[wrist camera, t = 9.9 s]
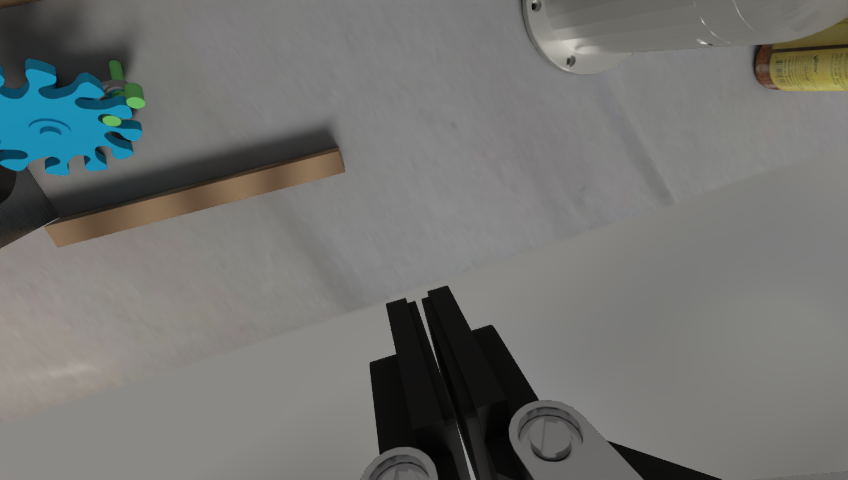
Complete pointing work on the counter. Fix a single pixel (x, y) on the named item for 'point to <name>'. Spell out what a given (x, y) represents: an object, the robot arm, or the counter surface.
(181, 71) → the counter surface
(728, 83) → the counter surface
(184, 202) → the channel rails
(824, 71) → the sauce bottle
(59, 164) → the gear
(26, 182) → the plate with round knob
